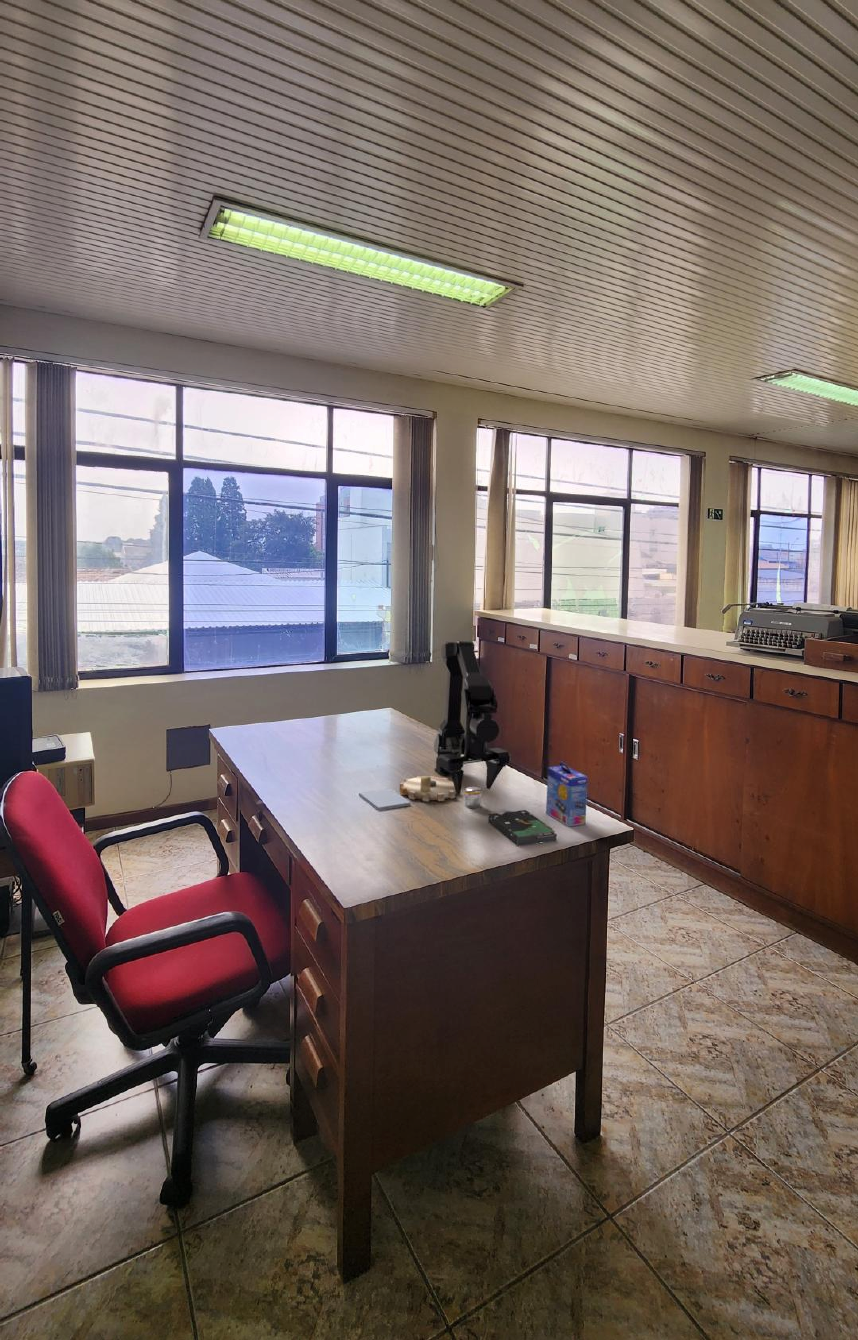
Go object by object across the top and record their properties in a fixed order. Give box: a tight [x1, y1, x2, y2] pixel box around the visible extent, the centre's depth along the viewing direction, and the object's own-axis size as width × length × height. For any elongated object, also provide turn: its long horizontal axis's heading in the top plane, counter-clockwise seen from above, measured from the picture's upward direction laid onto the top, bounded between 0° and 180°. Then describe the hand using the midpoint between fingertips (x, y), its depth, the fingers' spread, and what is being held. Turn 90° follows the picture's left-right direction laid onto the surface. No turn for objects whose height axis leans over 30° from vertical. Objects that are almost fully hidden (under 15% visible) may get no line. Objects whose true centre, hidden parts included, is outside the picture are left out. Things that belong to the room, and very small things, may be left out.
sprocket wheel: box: [399, 775, 458, 802], centre depth 182 cm, size 16×16×5 cm
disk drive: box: [488, 809, 557, 847], centre depth 157 cm, size 10×3×15 cm
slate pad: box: [358, 788, 411, 811], centre depth 175 cm, size 9×12×1 cm
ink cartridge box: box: [545, 761, 588, 827], centre depth 165 cm, size 10×6×14 cm, turn 24°
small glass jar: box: [464, 786, 483, 810], centre depth 172 cm, size 4×4×4 cm
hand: (473, 791), depth 172 cm, fingers open, 9 cm apart
